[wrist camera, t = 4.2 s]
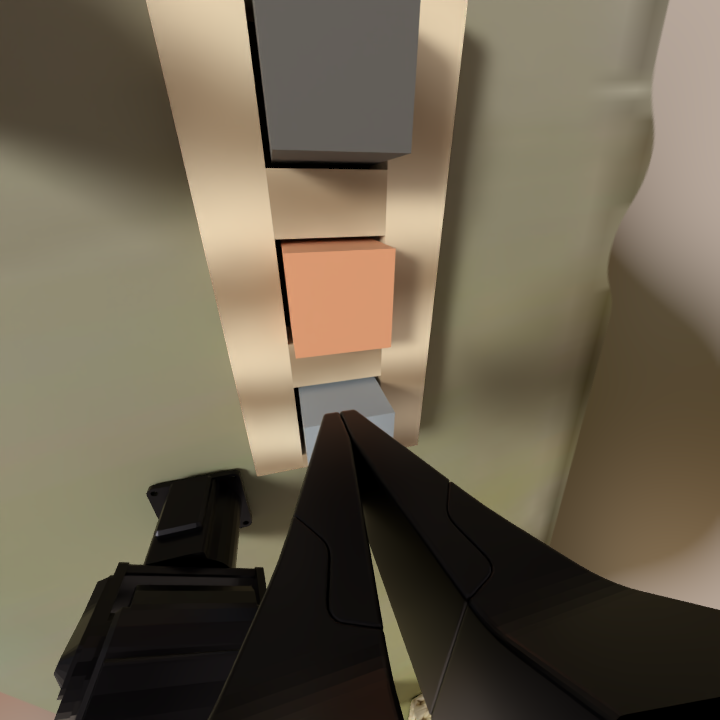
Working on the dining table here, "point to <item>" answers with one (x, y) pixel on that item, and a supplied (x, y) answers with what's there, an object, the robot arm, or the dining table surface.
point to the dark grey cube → (338, 78)
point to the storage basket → (419, 709)
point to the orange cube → (339, 294)
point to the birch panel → (305, 215)
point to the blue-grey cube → (343, 405)
